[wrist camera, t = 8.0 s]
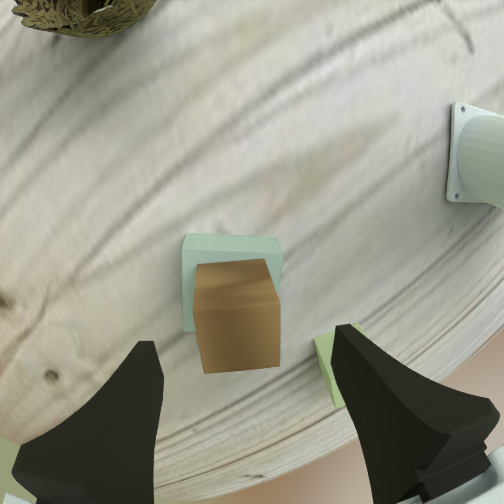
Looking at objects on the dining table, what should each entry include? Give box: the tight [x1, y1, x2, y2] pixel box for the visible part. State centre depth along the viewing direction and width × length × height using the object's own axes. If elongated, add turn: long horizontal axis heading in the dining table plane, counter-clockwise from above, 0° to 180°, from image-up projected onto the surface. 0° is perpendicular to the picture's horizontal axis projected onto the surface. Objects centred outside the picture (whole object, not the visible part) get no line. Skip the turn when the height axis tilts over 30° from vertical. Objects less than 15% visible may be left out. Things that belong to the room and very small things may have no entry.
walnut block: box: [192, 258, 280, 374], centre depth 17 cm, size 4×4×5 cm
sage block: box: [314, 323, 367, 409], centre depth 24 cm, size 4×4×5 cm
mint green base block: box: [182, 233, 284, 332], centre depth 21 cm, size 6×6×3 cm
